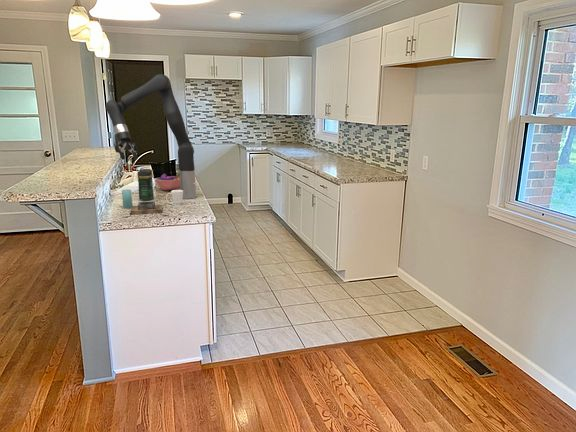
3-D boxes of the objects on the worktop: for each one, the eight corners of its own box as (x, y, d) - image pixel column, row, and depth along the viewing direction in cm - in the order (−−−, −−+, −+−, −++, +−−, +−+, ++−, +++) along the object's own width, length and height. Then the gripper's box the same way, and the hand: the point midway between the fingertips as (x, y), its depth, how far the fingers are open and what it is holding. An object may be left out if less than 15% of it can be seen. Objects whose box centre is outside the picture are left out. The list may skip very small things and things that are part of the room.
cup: (184, 205, 253) (183, 191, 251) (166, 206, 250) (165, 192, 248) (183, 202, 260) (182, 189, 258) (166, 203, 257) (165, 190, 255)
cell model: (182, 193, 287) (181, 176, 284) (152, 192, 288) (150, 175, 285) (188, 188, 304) (187, 171, 301) (160, 187, 304) (158, 171, 301)
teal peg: (133, 206, 250) (131, 189, 248) (132, 208, 245) (130, 191, 243) (123, 206, 249) (122, 189, 246) (122, 208, 244) (121, 191, 242)
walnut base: (162, 207, 247) (162, 200, 246) (161, 213, 236) (161, 205, 234) (132, 209, 243) (132, 201, 242) (130, 214, 232) (129, 206, 231)
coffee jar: (151, 201, 263) (148, 170, 259) (137, 201, 263) (135, 170, 258) (155, 197, 273) (153, 168, 268) (142, 197, 273) (140, 168, 268)
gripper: (115, 129, 246) (123, 156, 244) (136, 131, 257) (143, 157, 256) (107, 135, 249) (115, 161, 248) (128, 137, 261) (136, 162, 259)
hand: (129, 159), depth 252 cm, fingers open, 8 cm apart
